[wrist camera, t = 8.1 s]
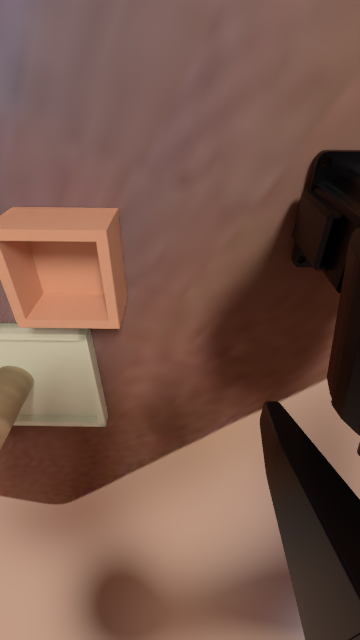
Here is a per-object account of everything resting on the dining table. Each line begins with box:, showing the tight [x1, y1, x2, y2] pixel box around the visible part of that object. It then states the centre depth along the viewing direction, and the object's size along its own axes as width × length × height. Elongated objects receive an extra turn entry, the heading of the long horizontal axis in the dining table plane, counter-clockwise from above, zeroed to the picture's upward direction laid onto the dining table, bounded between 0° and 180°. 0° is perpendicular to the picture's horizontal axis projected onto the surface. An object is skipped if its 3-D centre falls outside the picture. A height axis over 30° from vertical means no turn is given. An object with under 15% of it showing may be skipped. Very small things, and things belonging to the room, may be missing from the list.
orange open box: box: [0, 207, 128, 329], centre depth 19 cm, size 6×6×4 cm
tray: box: [0, 323, 108, 427], centre depth 26 cm, size 14×11×1 cm
